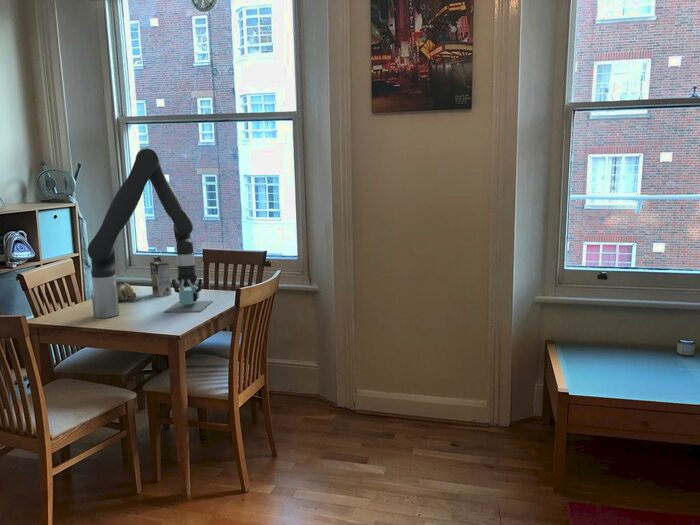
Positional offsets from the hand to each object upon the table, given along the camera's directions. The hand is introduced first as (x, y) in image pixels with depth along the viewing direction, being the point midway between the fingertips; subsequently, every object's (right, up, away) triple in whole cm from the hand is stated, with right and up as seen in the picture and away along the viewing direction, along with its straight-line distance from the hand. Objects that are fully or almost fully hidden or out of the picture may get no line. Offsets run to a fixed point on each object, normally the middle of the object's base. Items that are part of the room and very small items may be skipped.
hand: (189, 301), depth 246 cm
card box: (0, +4, +7) cm, 7 cm away
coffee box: (-21, +1, +26) cm, 33 cm away
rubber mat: (0, -3, +1) cm, 3 cm away
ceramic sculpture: (-36, -1, +17) cm, 39 cm away
